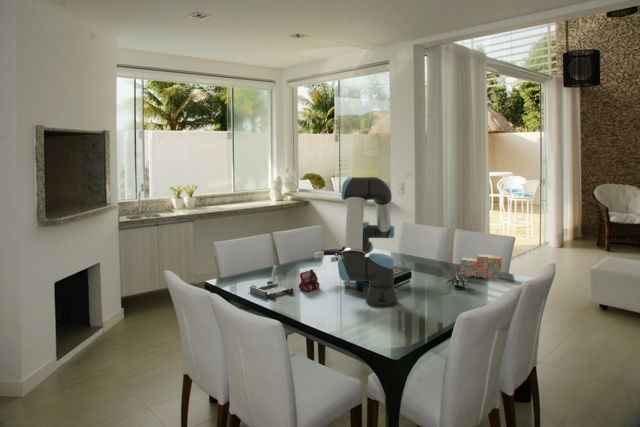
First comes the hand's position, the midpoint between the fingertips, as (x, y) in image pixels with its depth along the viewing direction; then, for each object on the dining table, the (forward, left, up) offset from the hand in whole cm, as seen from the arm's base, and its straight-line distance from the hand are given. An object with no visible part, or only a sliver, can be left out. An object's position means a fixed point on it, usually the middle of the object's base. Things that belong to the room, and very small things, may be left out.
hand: (322, 257), depth 253 cm
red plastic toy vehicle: (0, +10, -16) cm, 19 cm away
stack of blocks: (-50, -76, -16) cm, 92 cm away
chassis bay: (+10, +27, -15) cm, 33 cm away
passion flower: (-53, -47, -16) cm, 73 cm away
